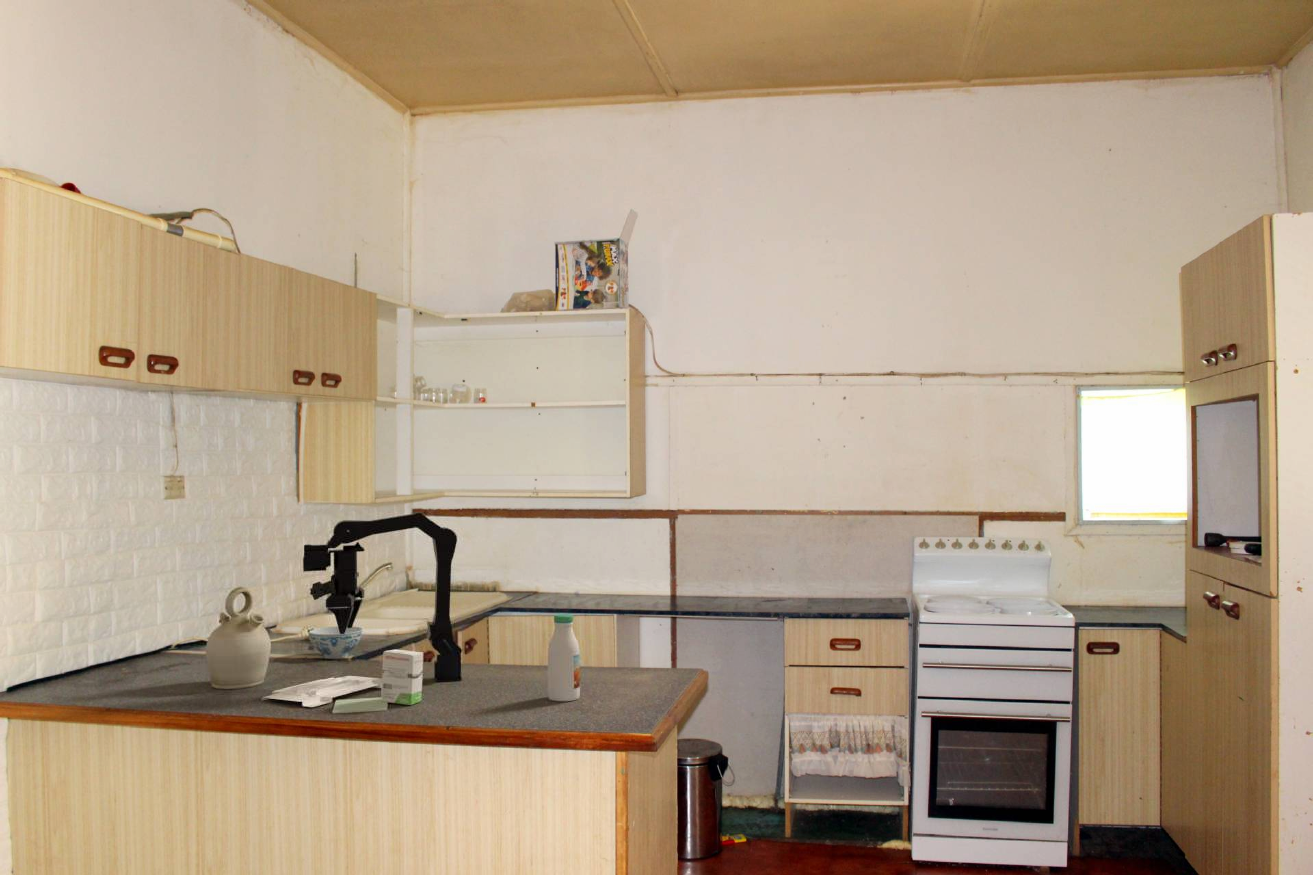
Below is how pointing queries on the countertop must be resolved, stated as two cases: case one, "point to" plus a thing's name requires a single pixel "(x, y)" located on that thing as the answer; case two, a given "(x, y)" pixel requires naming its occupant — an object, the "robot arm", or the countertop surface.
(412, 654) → the ink box
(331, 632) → the chinaware
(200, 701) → the countertop surface
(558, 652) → the milk bottle
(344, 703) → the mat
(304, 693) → the tray
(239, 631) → the jug
